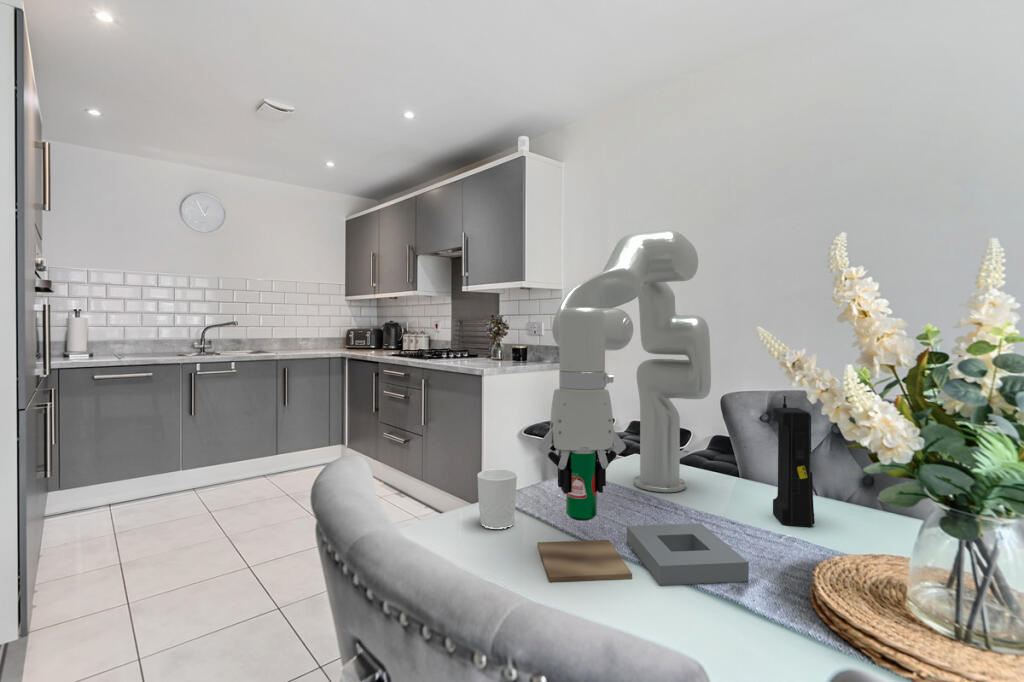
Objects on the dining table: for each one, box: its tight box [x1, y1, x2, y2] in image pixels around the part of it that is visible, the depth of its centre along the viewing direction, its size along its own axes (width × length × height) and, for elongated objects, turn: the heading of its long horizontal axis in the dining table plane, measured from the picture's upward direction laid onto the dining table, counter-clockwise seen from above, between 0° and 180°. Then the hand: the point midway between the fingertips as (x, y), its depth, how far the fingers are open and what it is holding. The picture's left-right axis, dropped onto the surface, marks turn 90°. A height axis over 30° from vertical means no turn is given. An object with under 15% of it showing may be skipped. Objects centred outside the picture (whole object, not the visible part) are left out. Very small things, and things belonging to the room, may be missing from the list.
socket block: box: [626, 522, 750, 586], centre depth 85 cm, size 16×14×3 cm
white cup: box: [477, 468, 518, 528], centre depth 102 cm, size 8×8×10 cm
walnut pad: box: [537, 539, 633, 583], centre depth 85 cm, size 13×13×1 cm
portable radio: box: [772, 395, 816, 528], centre depth 103 cm, size 8×6×25 cm
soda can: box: [565, 447, 598, 522], centre depth 85 cm, size 5×5×12 cm
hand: (581, 489), depth 85 cm, fingers closed on soda can, 5 cm apart
